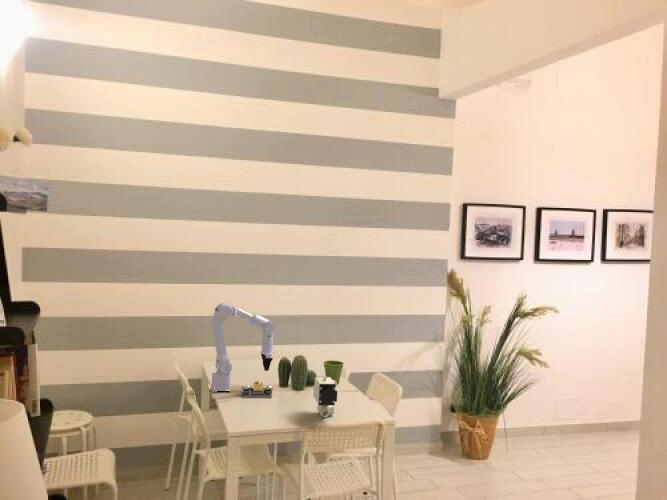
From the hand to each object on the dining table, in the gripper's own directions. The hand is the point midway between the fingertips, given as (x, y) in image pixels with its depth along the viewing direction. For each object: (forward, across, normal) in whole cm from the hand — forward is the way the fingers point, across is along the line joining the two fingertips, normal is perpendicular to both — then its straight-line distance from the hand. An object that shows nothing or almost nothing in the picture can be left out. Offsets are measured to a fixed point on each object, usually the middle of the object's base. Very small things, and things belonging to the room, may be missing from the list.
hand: (265, 368), depth 317 cm
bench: (+10, -14, +5) cm, 18 cm away
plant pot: (+10, +11, -38) cm, 41 cm away
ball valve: (+10, -46, -24) cm, 53 cm away
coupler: (+9, -14, +5) cm, 17 cm away
